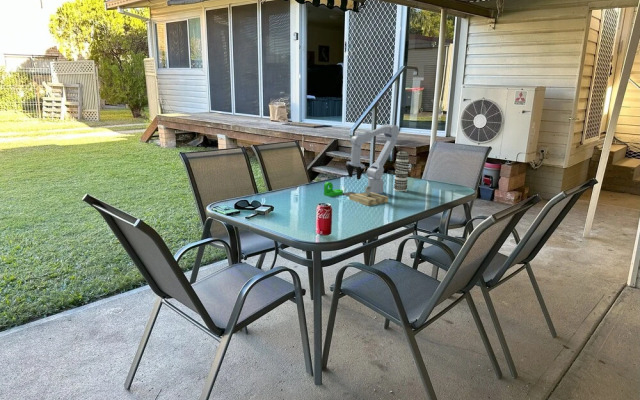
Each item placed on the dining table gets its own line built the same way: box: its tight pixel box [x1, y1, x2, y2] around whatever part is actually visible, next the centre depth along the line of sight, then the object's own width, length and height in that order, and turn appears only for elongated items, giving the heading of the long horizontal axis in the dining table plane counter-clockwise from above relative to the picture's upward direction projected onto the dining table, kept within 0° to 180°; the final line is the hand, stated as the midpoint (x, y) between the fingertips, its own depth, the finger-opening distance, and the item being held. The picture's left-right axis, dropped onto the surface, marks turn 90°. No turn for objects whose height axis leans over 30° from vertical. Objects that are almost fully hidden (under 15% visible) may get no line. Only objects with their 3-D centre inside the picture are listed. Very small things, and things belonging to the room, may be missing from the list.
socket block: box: [348, 191, 389, 206], centre depth 250 cm, size 16×16×3 cm
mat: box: [342, 191, 357, 198], centre depth 265 cm, size 10×10×1 cm
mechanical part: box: [323, 181, 344, 198], centre depth 262 cm, size 12×6×8 cm, turn 131°
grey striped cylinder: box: [393, 150, 410, 192], centre depth 277 cm, size 9×9×25 cm
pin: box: [364, 185, 371, 197], centre depth 250 cm, size 3×3×8 cm
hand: (354, 178), depth 262 cm, fingers open, 7 cm apart
